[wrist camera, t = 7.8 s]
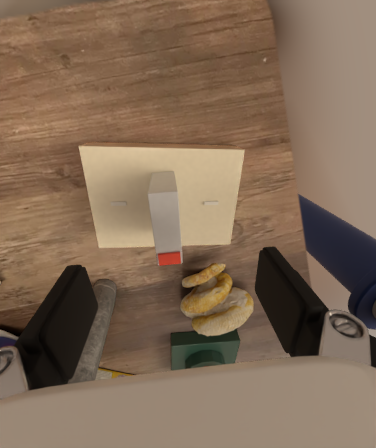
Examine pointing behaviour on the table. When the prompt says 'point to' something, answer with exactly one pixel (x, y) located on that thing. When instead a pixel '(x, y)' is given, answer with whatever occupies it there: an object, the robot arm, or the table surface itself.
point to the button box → (203, 349)
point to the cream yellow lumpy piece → (215, 302)
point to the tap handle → (165, 218)
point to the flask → (96, 332)
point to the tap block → (139, 184)
